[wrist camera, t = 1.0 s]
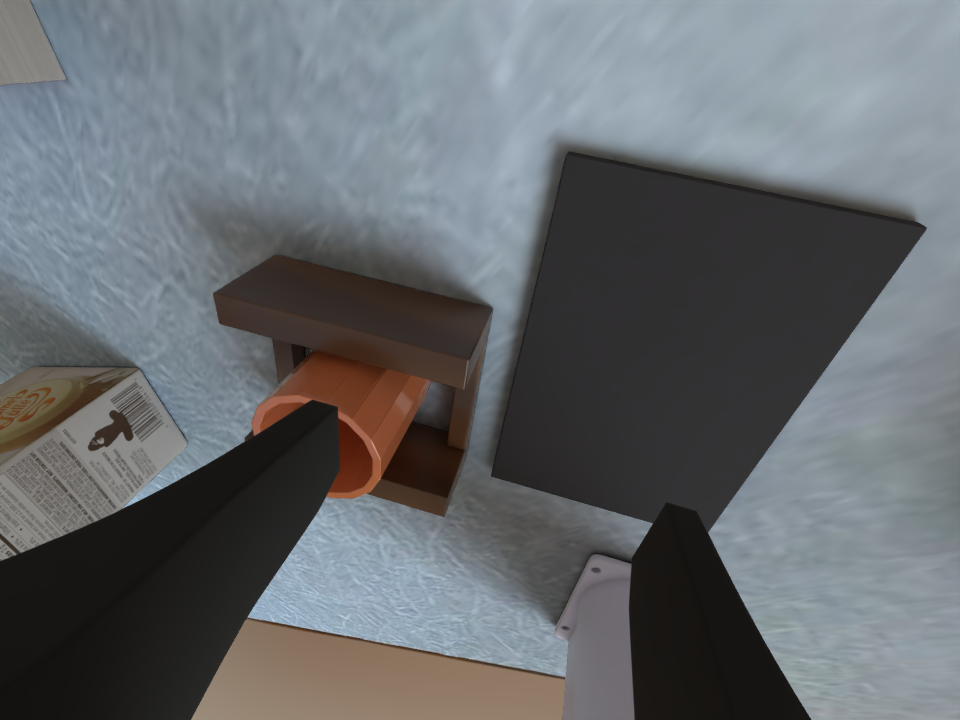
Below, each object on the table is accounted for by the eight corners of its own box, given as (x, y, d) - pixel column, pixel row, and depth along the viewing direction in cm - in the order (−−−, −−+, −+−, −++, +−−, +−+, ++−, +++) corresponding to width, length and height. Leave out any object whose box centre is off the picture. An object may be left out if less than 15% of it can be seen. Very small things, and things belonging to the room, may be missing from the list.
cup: (427, 418, 24) (379, 513, 19) (331, 391, 25) (261, 476, 20) (436, 331, 21) (381, 419, 16) (326, 303, 22) (242, 379, 17)
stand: (466, 456, 25) (444, 518, 22) (293, 406, 26) (248, 458, 23) (493, 307, 20) (469, 360, 16) (274, 253, 21) (211, 292, 17)
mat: (702, 529, 24) (704, 538, 23) (492, 469, 25) (490, 477, 25) (919, 222, 14) (928, 227, 14) (567, 150, 16) (566, 153, 15)
